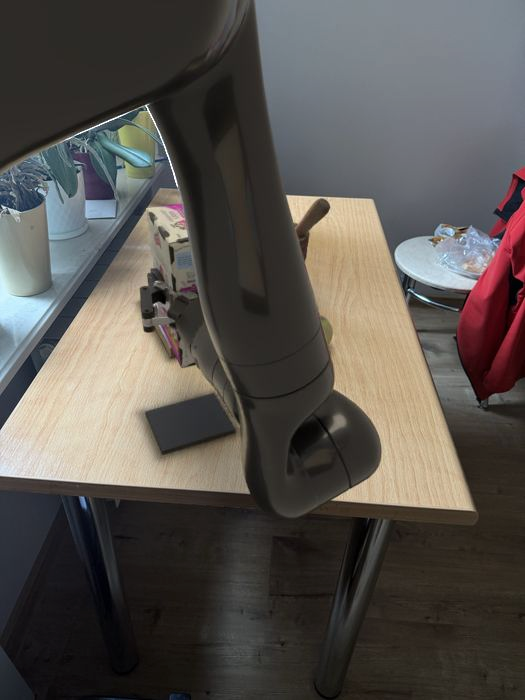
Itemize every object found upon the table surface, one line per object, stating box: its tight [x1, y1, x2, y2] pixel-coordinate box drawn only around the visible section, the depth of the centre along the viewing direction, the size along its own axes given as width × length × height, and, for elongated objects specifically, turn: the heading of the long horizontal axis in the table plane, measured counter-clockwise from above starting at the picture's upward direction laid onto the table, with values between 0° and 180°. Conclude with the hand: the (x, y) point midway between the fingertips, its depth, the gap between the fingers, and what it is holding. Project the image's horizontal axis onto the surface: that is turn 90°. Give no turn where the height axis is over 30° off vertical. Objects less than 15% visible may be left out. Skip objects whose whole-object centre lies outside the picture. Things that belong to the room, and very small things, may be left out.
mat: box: [144, 392, 236, 455], centre depth 71 cm, size 10×8×1 cm
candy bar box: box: [145, 203, 198, 369], centre depth 64 cm, size 11×5×16 cm, turn 23°
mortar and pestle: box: [293, 197, 331, 262], centre depth 94 cm, size 12×9×20 cm
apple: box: [320, 314, 334, 346], centre depth 85 cm, size 6×8×6 cm
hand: (176, 271), depth 65 cm, fingers closed on candy bar box, 5 cm apart
